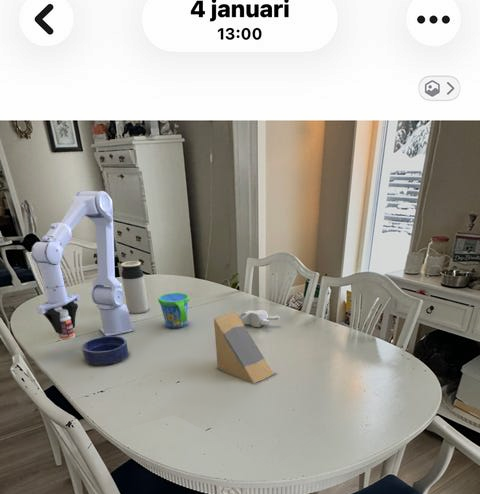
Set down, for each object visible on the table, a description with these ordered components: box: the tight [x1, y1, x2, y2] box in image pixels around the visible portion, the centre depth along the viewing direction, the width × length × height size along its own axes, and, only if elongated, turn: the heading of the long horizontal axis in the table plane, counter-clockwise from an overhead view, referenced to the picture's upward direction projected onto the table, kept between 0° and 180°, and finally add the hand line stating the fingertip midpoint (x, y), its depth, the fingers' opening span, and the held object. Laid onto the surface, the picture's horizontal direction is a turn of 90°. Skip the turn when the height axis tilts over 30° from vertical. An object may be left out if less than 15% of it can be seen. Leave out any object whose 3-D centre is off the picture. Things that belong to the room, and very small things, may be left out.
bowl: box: [81, 335, 129, 366], centre depth 145 cm, size 13×13×4 cm
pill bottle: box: [55, 308, 76, 341], centre depth 144 cm, size 5×5×8 cm
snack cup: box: [158, 292, 190, 329], centre depth 166 cm, size 16×10×10 cm
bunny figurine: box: [238, 309, 281, 328], centre depth 164 cm, size 10×5×15 cm
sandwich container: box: [213, 311, 275, 384], centre depth 130 cm, size 9×15×15 cm, turn 44°
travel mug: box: [120, 260, 149, 314], centre depth 180 cm, size 8×8×18 cm
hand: (65, 329), depth 145 cm, fingers closed on pill bottle, 5 cm apart
